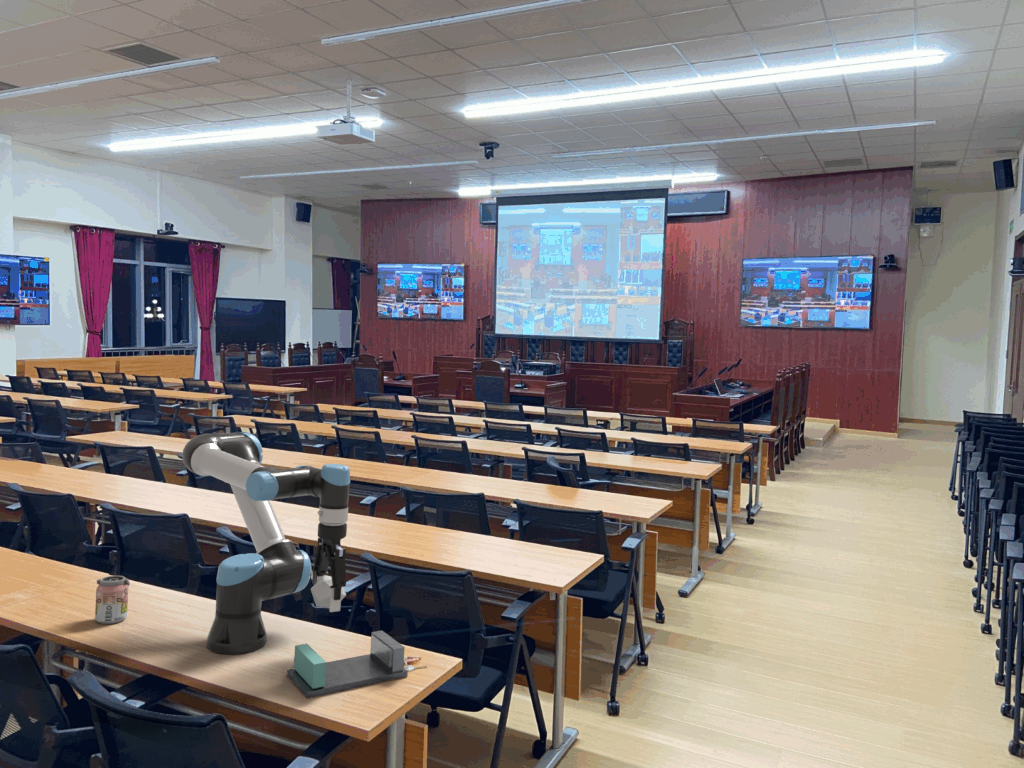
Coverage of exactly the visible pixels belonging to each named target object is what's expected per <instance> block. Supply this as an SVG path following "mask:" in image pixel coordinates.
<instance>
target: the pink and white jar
mask: <svg viewBox="0 0 1024 768" xmlns="http://www.w3.org/2000/svg"><path fill="white" fill-rule="evenodd" d="M96 584H97V585H98V586H97V587H96V591H95V612H94V613H95V614H94V619H95V621H96V622H97V623H98V624H100V625H114V624H118V623H121V622H123V621H125V620H126V618H127V617H128V603H129V586H130V585H131V583H130V580H129V578H127V577H125V576H124V575H108V576H104V577H101V578H97V579H96Z"/></svg>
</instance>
